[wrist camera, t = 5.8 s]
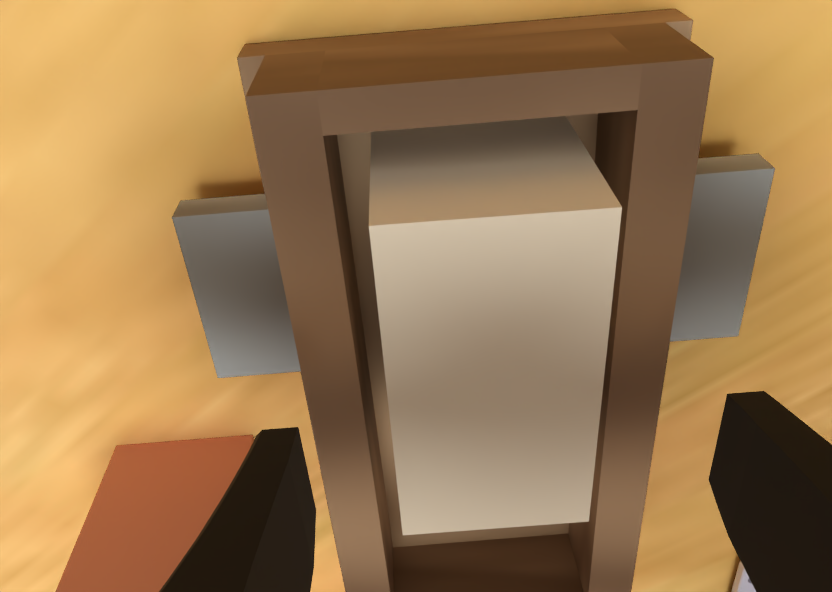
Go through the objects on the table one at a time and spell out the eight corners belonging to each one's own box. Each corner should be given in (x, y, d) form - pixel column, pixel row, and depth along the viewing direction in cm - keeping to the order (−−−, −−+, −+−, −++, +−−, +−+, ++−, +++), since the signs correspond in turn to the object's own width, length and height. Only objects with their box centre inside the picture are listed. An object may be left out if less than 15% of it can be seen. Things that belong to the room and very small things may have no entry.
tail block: (276, 523, 24) (251, 695, 19) (153, 533, 24) (98, 706, 19) (252, 434, 21) (217, 604, 17) (116, 444, 21) (45, 617, 17)
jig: (669, 515, 24) (709, 612, 21) (286, 545, 24) (273, 646, 21) (764, 1, 15) (856, 46, 12) (156, 51, 15) (103, 107, 12)
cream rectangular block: (548, 384, 19) (588, 521, 16) (398, 395, 19) (402, 535, 16) (562, 110, 15) (622, 207, 11) (371, 124, 15) (368, 226, 11)
